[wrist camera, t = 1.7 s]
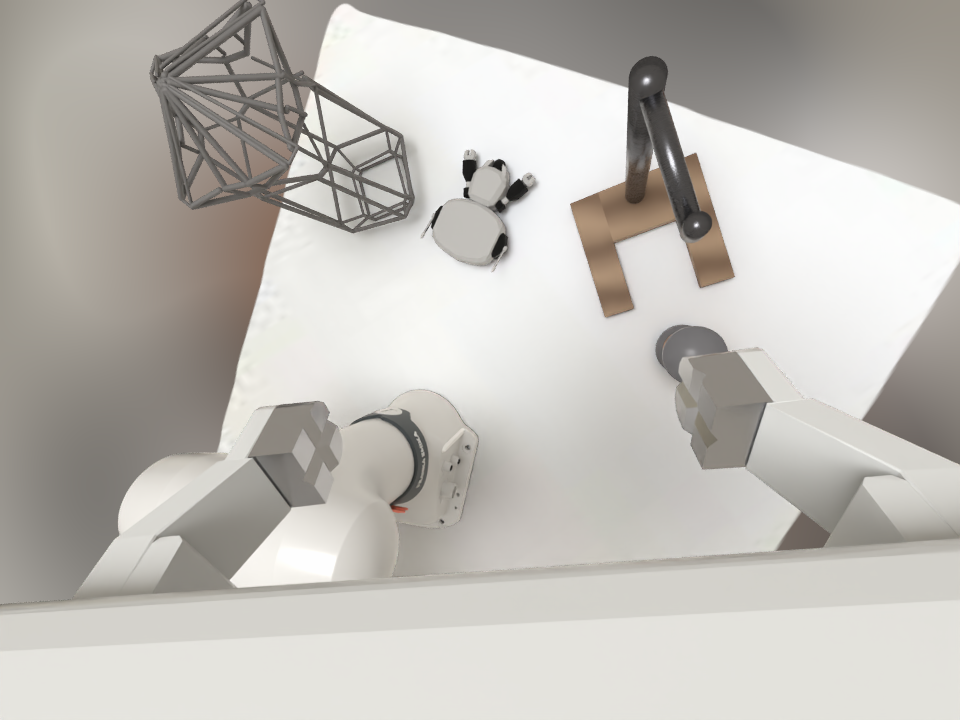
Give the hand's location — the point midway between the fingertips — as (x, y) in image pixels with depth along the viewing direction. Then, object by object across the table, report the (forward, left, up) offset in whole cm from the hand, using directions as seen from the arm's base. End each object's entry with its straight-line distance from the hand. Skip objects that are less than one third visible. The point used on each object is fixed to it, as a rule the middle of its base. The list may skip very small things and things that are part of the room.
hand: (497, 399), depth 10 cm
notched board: (+12, -5, -53) cm, 55 cm away
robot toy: (+16, +18, -54) cm, 59 cm away
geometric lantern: (+20, +35, -53) cm, 67 cm away
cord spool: (-2, -10, -53) cm, 54 cm away
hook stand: (+13, -5, -52) cm, 54 cm away
